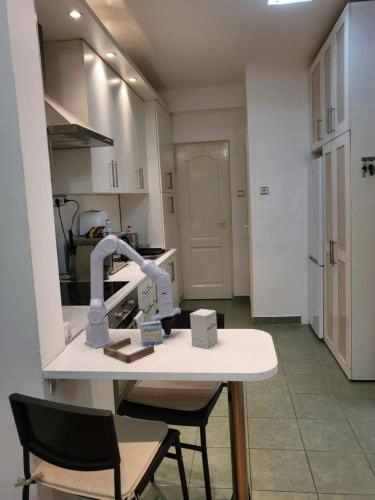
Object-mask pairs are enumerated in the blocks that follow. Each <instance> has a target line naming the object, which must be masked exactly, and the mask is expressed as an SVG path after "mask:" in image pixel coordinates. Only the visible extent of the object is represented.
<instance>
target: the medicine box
mask: <svg viewBox="0 0 375 500" xmlns="http://www.w3.org/2000/svg"><path fill="white" fill-rule="evenodd" d="M139 330H140V341H141V344H142V346H143V347H144V346H145V347H148V346H149V345H153V346H155V345H154V344H156V345H160V344H163V343H164V342H163V341H164V339H163V327H162V325H161V322H160V320H156V321H155V322H154V321H151V320H149V321H148V320H147V321H141V322H139Z"/></svg>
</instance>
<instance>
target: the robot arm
mask: <svg viewBox="0 0 375 500" xmlns="http://www.w3.org/2000/svg"><path fill="white" fill-rule="evenodd" d="M115 252H116V254H118V255H119V254H120V255H125V256H126V257H127V258H129V259H130V260H131V261H132V262H133V263H135V264H137V265H138V266H139V267H140V269H139V270H140V272H142V273H143V274H144V275H145V276H146V277H148V278H149V279H150V280H151V281H153V282H155V285H156V286H157V287H156V288H157V290H156V296H157V307H158V308H157V309H158V312H157V313H156V314H155V315H152V316H150V321H154V322H155V321H156V320H160V322H161V326H162V331H163V332H164V335H166V336H170V335H171V334H172V329H173V325H174V322H175V320H176V316H175V315H177V314H181V308H180V307H173V296H172V295H173V294H172V288H171V287H172V286H171V285H172V284H171V283H172V280H171V276H170V274H169V273H168V271H165V270H164V268H161V267H159V266H158V265H157V264H156V262H155V260H151V259H145V258H143V256H142V255H140V253H138V252H137V251H136V250H135V249H134V248H133V247H132V246H130V245H129V244H128V243H127V242H125V240H122V239H121V238H119V237H118V236H116V235H115V234H108V235H106V236H104V237H103V238H102V239H101V240H100V241H99V242H98V243H97V245H96V246H95V248H94V249H93V250H92V252H91V253H90V303H89V311H88V313H87V318H86V319H87V320H88V321H87V322H86V324H85V326H84V328H85V329H84V330H85V338H86V341H84V344H85V345H88V346H92V347H94V348H96V349H98V348H99V349H100V348H101V347H102V348H103V347H105V346H108V345H111V344H113V343H115V341H114V340H113V339H110V334H109V324H108V318H107V317H106V316H105V315H106V314H107V307H106V306H105V299H104V259H105V258H106V257H107V256H108V255H111V254H113V253H115Z"/></svg>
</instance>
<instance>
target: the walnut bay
mask: <svg viewBox="0 0 375 500" xmlns="http://www.w3.org/2000/svg"><path fill="white" fill-rule="evenodd" d="M129 344H130V345H132V340H131V338H130V337H127V338H123V339H121V340H118V341H116V342H112V343H110V344H107V345H104V346H102V350H103V354H104V355H105V356H109V357H112V358H113V357H114V358H113V359H116V360H118V359H120V360H119V361H121V360H122V361H121V362H123V361H125V362H124V363H126V362H127V364H128V363H129V364H131V363H133V362H135V360H136V361H138V360H140V359H143V358H144V357H147V356H149V355H151V354H154V353H155V345H151V346H145V347H144V348H141V349H140V350H137V351H134V352H131V353H130V354H127V353H124V352H122V351H118V350H120V349H122V348H121V347H123V348H125V347H127V346H126V345H128V346H130V345H129ZM124 346H125V347H124ZM119 348H120V349H119ZM117 349H118V350H117ZM153 352H154V353H153ZM137 359H138V360H137ZM132 361H133V362H132ZM130 362H131V363H130Z"/></svg>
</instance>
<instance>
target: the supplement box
mask: <svg viewBox="0 0 375 500" xmlns="http://www.w3.org/2000/svg"><path fill="white" fill-rule="evenodd" d="M189 318H190V322H189V323H190V332H191V333H190V336H191V345H192V346H194V347H198V348H203V349H209V348H210V347H211V346H213V345H215V344H217V343H218V342H219V341H218V338H219V337H218V325H217V324H218V323H217V321H218V320H217V311H216V310H213V309H205V308H199V309H198V310H195V311H193V312H191V313H189Z"/></svg>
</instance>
